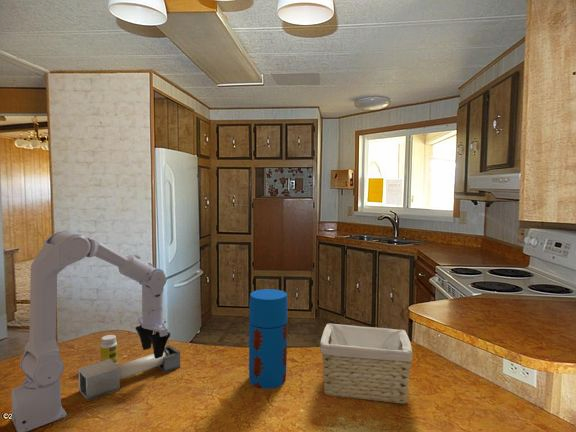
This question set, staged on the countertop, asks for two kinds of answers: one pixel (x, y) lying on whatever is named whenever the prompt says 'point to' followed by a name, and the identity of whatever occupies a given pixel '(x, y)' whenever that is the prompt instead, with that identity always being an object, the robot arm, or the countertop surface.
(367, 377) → the storage basket
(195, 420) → the countertop surface
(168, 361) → the socket
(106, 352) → the supplement bottle
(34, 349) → the robot arm
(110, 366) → the sleeve
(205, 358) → the countertop surface
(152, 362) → the tube
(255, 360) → the thermos
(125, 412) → the countertop surface
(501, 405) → the countertop surface
